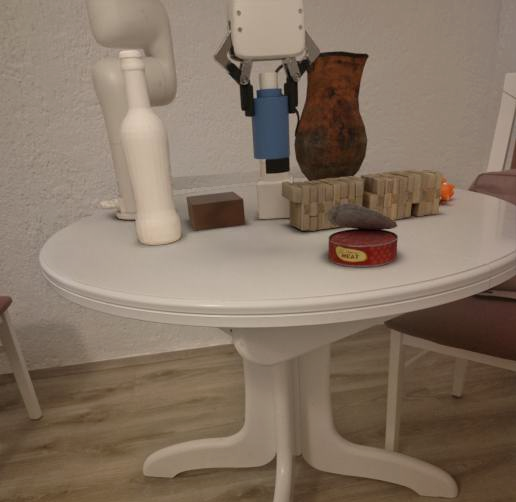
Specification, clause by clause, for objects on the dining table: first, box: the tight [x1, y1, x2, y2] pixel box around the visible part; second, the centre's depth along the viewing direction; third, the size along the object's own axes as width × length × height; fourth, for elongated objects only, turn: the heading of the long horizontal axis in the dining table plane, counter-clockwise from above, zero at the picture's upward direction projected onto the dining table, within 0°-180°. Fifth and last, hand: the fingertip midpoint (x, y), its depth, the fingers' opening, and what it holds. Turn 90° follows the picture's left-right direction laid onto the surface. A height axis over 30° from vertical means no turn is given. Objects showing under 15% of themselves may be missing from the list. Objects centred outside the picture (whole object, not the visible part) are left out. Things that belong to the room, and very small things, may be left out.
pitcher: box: [274, 50, 370, 181], centre depth 111 cm, size 17×21×30 cm
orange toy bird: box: [440, 177, 456, 202], centre depth 102 cm, size 5×8×12 cm
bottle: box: [118, 49, 182, 246], centre depth 82 cm, size 8×8×30 cm
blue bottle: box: [251, 71, 291, 160], centre depth 70 cm, size 5×5×11 cm
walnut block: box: [186, 191, 246, 232], centre depth 98 cm, size 10×10×5 cm
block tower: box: [282, 168, 444, 232], centre depth 91 cm, size 8×8×29 cm
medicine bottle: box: [256, 156, 295, 220], centre depth 98 cm, size 7×7×12 cm
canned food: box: [327, 203, 399, 268], centre depth 70 cm, size 11×10×10 cm
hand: (269, 113), depth 69 cm, fingers closed on blue bottle, 5 cm apart
